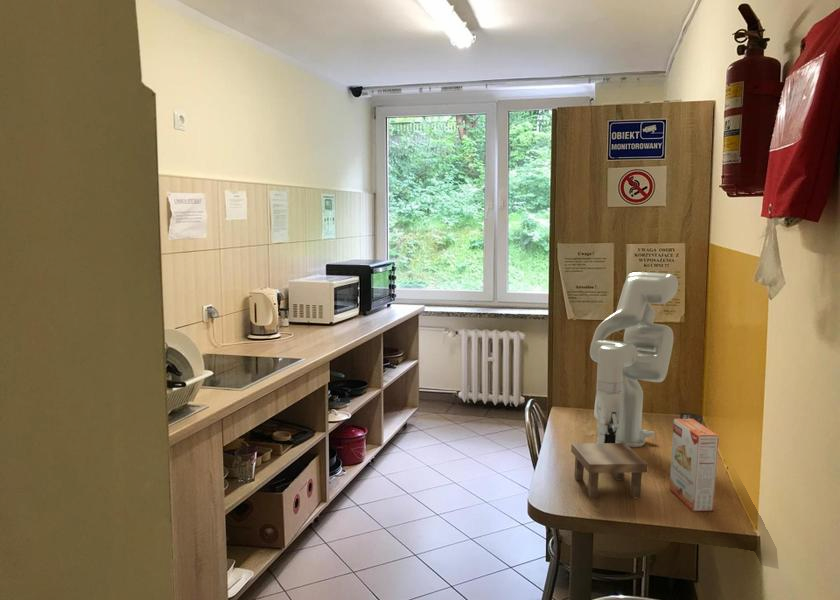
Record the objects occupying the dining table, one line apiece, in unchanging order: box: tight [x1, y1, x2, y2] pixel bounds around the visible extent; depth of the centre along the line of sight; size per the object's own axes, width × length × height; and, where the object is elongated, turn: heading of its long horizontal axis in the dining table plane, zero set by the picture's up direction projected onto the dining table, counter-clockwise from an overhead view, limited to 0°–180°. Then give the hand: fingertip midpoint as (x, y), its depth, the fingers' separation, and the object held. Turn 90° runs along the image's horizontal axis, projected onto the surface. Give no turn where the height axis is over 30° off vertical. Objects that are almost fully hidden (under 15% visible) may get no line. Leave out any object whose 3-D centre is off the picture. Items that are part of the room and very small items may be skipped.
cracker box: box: [669, 418, 720, 512], centre depth 177 cm, size 14×6×21 cm, turn 4°
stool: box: [570, 442, 649, 499], centre depth 185 cm, size 16×16×10 cm
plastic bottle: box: [596, 414, 612, 443], centre depth 203 cm, size 6×7×20 cm
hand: (605, 442), depth 203 cm, fingers closed on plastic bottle, 5 cm apart
